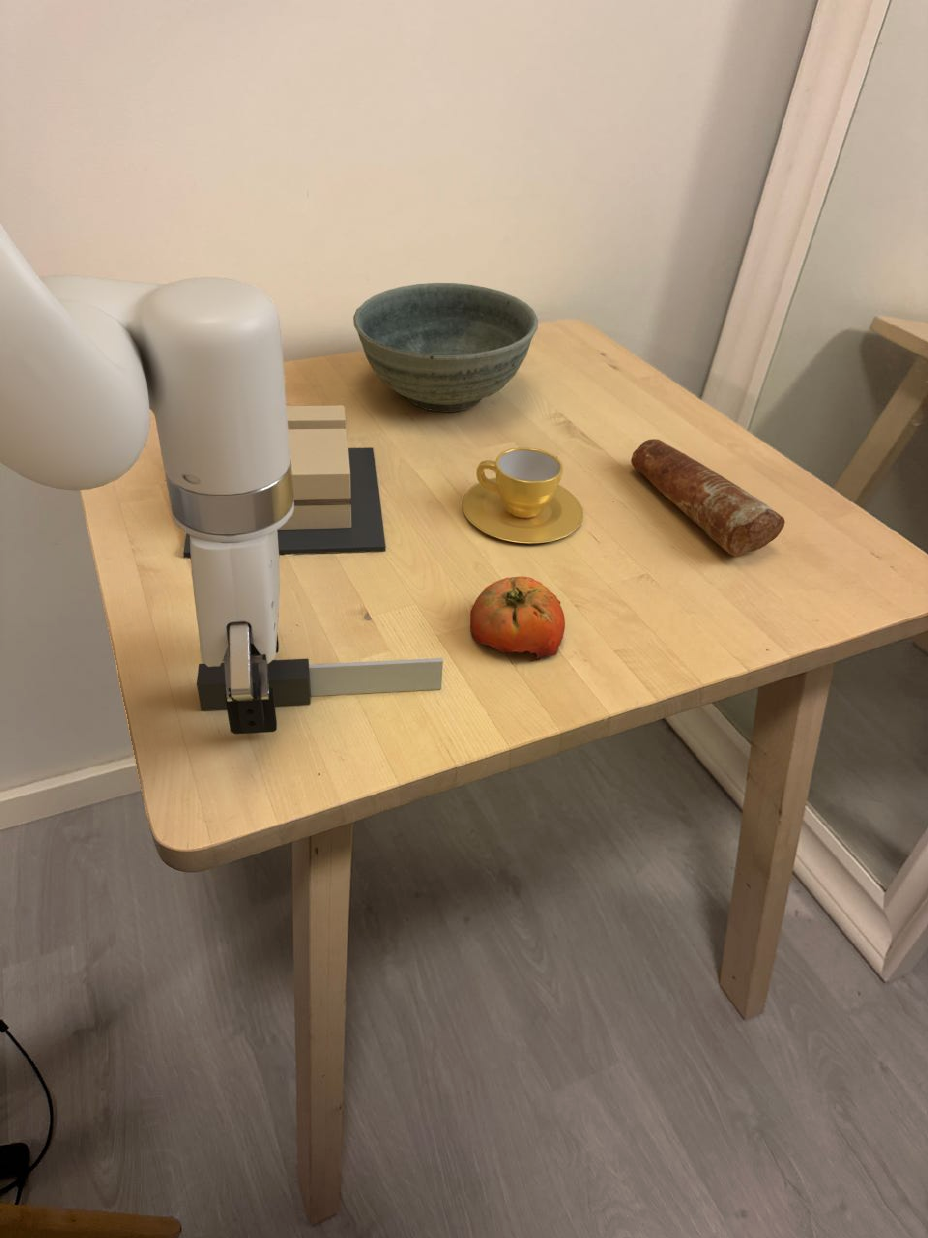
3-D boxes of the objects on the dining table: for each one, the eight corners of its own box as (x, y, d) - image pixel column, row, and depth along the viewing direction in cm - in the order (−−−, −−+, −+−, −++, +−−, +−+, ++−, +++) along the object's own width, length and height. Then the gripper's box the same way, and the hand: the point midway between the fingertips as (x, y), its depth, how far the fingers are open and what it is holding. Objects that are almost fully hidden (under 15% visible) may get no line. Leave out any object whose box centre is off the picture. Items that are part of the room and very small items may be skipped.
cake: (183, 558, 81) (173, 495, 76) (200, 454, 94) (191, 396, 90) (385, 551, 83) (386, 490, 79) (373, 451, 97) (373, 395, 93)
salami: (727, 571, 84) (743, 521, 81) (619, 469, 97) (628, 422, 94) (780, 557, 86) (798, 508, 83) (667, 459, 99) (678, 413, 96)
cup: (593, 493, 93) (601, 447, 90) (567, 558, 84) (575, 509, 81) (481, 469, 95) (485, 423, 92) (445, 529, 87) (448, 481, 83)
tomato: (447, 594, 76) (511, 542, 74) (498, 621, 81) (559, 573, 78) (473, 668, 72) (542, 615, 69) (525, 692, 76) (592, 644, 74)
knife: (201, 711, 67) (196, 682, 65) (203, 690, 68) (198, 661, 67) (442, 697, 69) (444, 669, 68) (439, 677, 71) (441, 649, 69)
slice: (226, 475, 90) (219, 421, 86) (227, 459, 93) (221, 406, 89) (347, 472, 92) (345, 419, 88) (345, 457, 94) (344, 405, 90)
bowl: (551, 432, 102) (563, 348, 96) (368, 444, 98) (367, 356, 92) (503, 354, 118) (511, 277, 111) (343, 361, 113) (341, 281, 107)
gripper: (182, 421, 62) (213, 616, 74) (152, 576, 49) (194, 784, 61) (293, 420, 63) (306, 612, 75) (291, 571, 50) (308, 776, 62)
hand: (256, 688), depth 68 cm, fingers open, 7 cm apart
